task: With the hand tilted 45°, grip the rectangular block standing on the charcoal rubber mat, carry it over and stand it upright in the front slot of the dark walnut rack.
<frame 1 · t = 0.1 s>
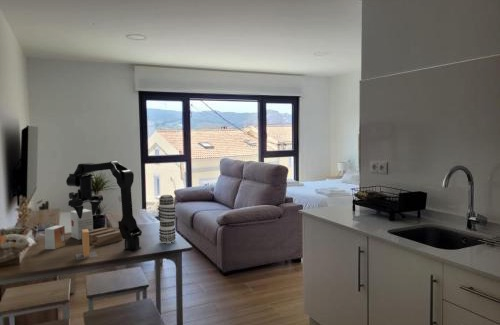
hand: (86, 216, 197), 15 cm above the table, tool pointing down, fingers open, 9 cm apart
rack: (105, 242, 201), on the table
supplement box: (82, 237, 212), on the table
rectangular block: (86, 255, 178), resting on mat
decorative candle: (167, 241, 201), on the table
mat: (86, 256, 178), on the table
small box: (55, 247, 193), on the table
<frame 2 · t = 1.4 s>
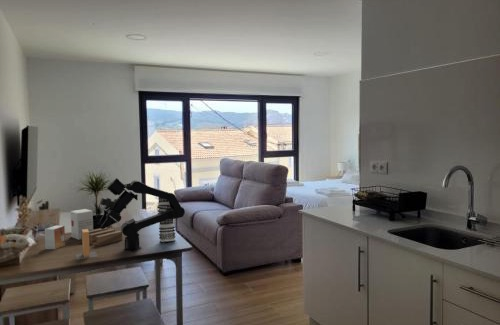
hand: (100, 226, 180), 13 cm above the table, tool tilted 45°, fingers open, 9 cm apart
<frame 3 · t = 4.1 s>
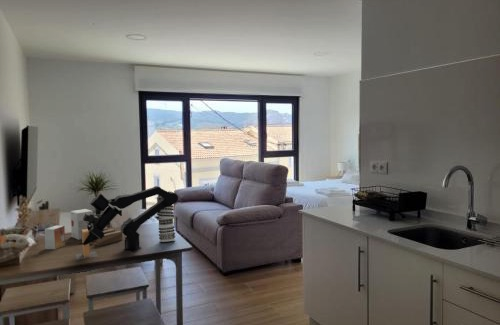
hand: (82, 243, 177), 7 cm above the table, tool tilted 45°, fingers closed on rectangular block, 6 cm apart
rectangular block: (86, 255, 178), resting on mat, touching gripper
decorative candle: (167, 240, 201), on the table, touching arm
everything else where it was.
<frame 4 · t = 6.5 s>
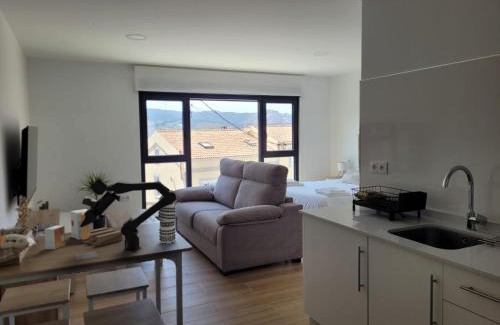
hand: (82, 225, 183), 14 cm above the table, tool tilted 45°, fingers closed on rectangular block, 6 cm apart
rectangular block: (85, 237, 183), point 7 cm above the table, touching gripper
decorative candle: (167, 241, 201), on the table
everything else where it was.
when the fingers open (9 cm above the table, at t = 9.6 s): rectangular block drops 1 cm, resting on rack.
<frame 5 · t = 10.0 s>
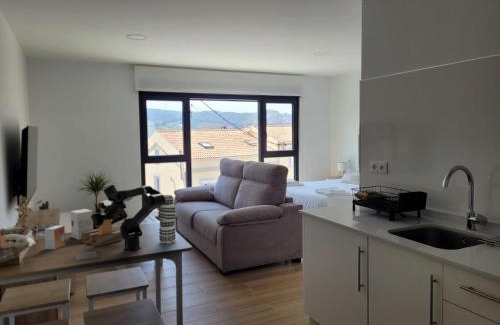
hand: (103, 225, 201), 9 cm above the table, tool tilted 45°, fingers open, 9 cm apart
rectangular block: (105, 240, 201), point 1 cm above the table, touching rack
everything else where it was.
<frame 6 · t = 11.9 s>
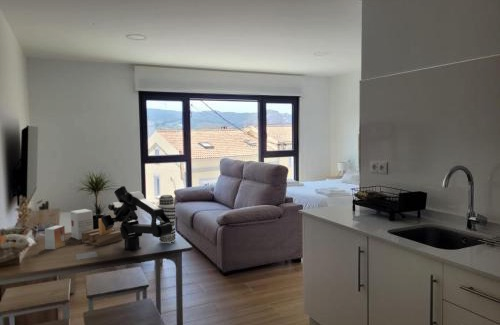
hand: (113, 228, 196), 9 cm above the table, tool tilted 45°, fingers open, 9 cm apart
nothing on the table moved.
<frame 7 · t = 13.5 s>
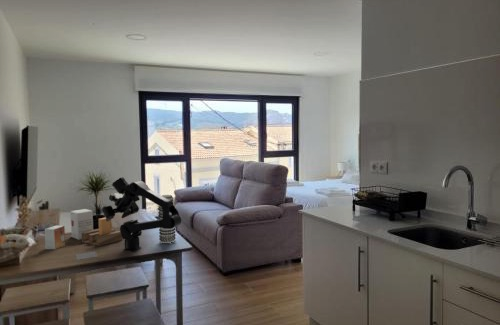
hand: (114, 219, 195), 14 cm above the table, tool tilted 45°, fingers open, 9 cm apart
nothing on the table moved.
at the end: rectangular block 0.1 cm off-centre on the rack, point 1.0 cm above the rack's base; rectangular block tilted 0°; the gripper is holding nothing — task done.
